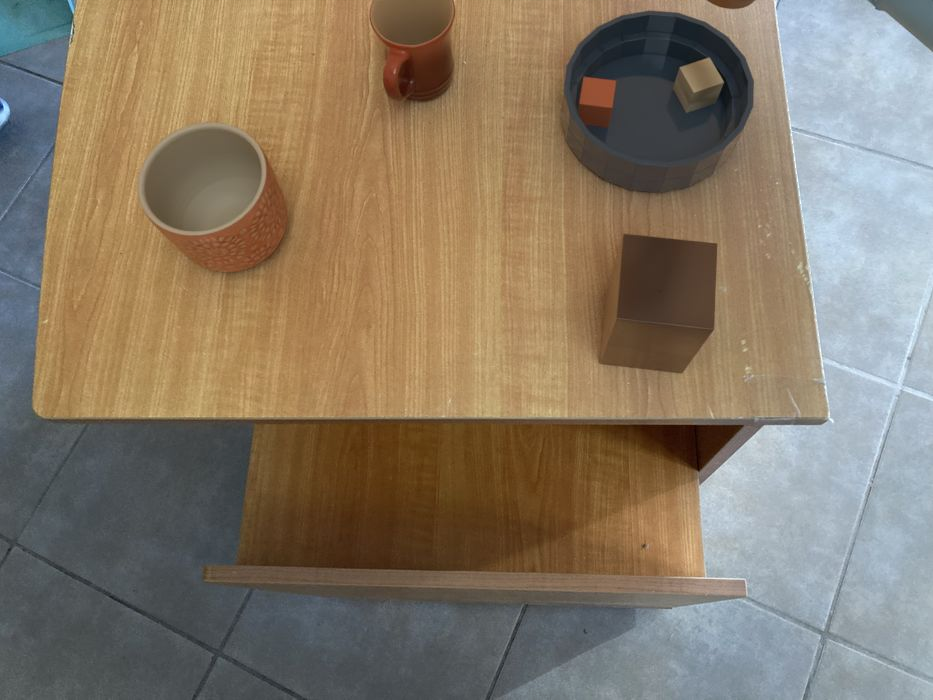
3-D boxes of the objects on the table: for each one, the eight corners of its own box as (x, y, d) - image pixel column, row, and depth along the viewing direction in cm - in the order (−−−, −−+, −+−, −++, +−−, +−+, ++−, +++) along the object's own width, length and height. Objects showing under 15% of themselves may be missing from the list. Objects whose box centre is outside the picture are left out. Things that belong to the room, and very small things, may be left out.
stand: (686, 298, 77) (717, 243, 66) (682, 373, 74) (714, 329, 63) (605, 289, 78) (623, 233, 66) (599, 363, 75) (616, 318, 64)
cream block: (701, 78, 85) (709, 57, 81) (715, 103, 84) (724, 82, 80) (672, 88, 84) (679, 67, 81) (686, 113, 83) (693, 92, 80)
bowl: (740, 54, 86) (755, 18, 81) (735, 203, 80) (751, 174, 75) (569, 40, 88) (573, 4, 83) (552, 185, 82) (555, 156, 77)
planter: (172, 282, 80) (122, 233, 70) (194, 179, 84) (150, 118, 74) (288, 288, 79) (256, 239, 69) (305, 183, 83) (276, 122, 73)
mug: (399, 39, 89) (387, -31, 79) (471, 57, 88) (466, -12, 78) (362, 123, 86) (344, 60, 76) (435, 143, 84) (427, 81, 75)
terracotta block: (612, 101, 84) (616, 80, 81) (608, 128, 83) (612, 107, 80) (580, 97, 85) (583, 76, 81) (576, 124, 83) (579, 103, 80)
